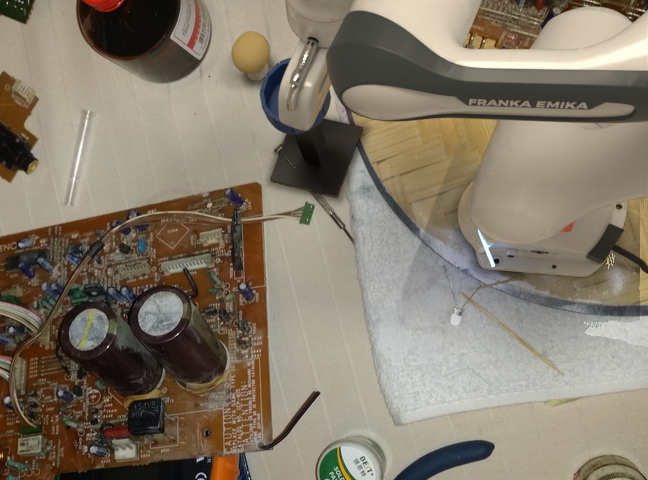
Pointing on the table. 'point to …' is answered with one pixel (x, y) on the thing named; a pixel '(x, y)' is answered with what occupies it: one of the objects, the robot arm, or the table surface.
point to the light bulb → (251, 54)
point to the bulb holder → (270, 99)
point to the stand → (318, 158)
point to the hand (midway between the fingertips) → (333, 65)
